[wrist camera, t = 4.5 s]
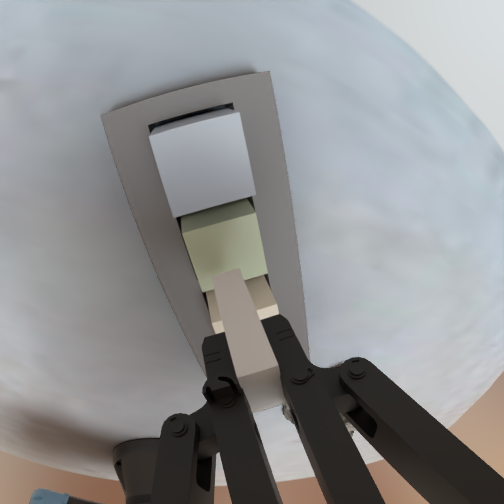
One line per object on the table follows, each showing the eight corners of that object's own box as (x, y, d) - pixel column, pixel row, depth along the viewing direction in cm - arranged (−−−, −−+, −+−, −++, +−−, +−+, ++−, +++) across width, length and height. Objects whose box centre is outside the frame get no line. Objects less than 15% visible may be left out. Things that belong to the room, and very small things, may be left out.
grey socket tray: (210, 369, 31) (214, 391, 28) (111, 111, 17) (100, 115, 15) (300, 342, 32) (310, 362, 29) (257, 73, 18) (269, 70, 16)
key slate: (174, 193, 19) (173, 218, 16) (154, 127, 17) (148, 136, 13) (241, 174, 19) (256, 194, 16) (226, 107, 17) (239, 112, 14)
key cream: (219, 327, 25) (227, 363, 22) (205, 287, 23) (211, 323, 20) (270, 312, 26) (284, 346, 22) (261, 270, 23) (277, 303, 20)
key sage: (197, 260, 23) (202, 292, 20) (180, 208, 21) (181, 233, 17) (253, 244, 24) (268, 273, 20) (242, 190, 21) (255, 212, 18)
